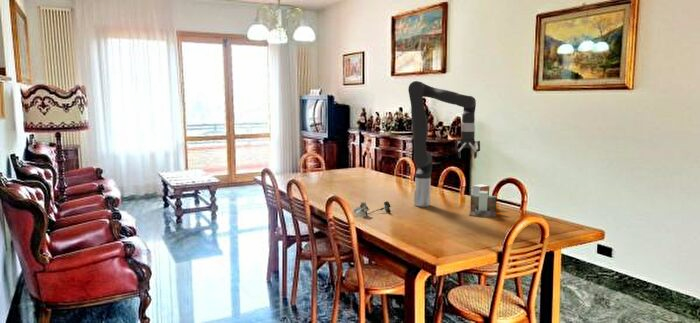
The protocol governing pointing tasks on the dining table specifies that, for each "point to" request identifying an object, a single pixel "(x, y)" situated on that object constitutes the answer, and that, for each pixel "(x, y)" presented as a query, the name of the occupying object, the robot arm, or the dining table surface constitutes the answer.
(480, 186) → the small box
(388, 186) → the dining table surface
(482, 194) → the block
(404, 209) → the dining table surface
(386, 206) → the artificial flower
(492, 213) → the cleat stand
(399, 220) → the dining table surface
